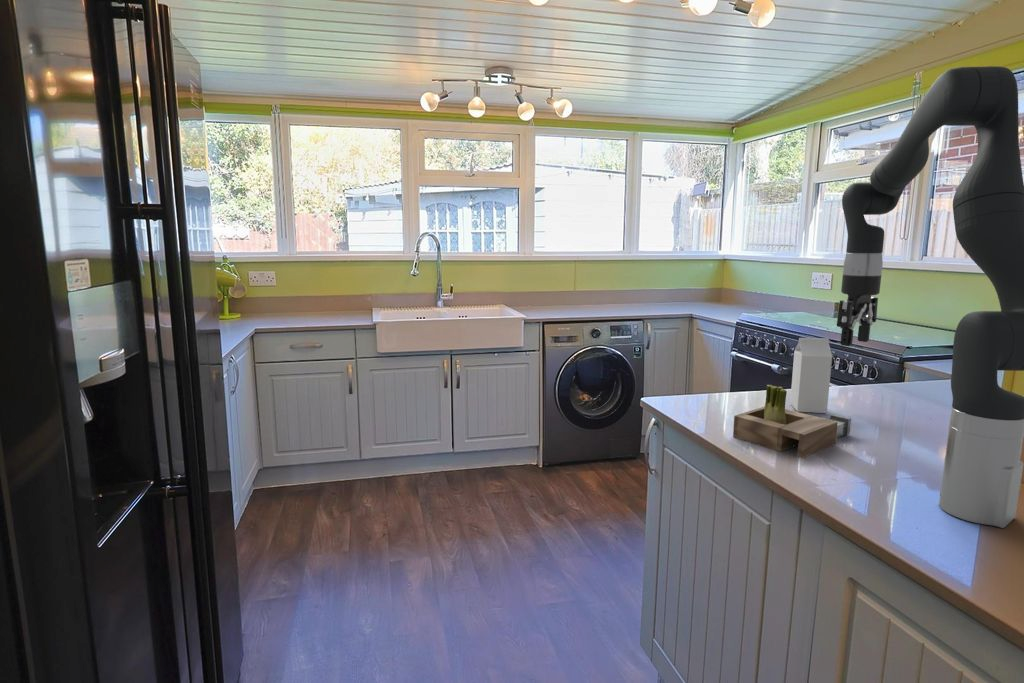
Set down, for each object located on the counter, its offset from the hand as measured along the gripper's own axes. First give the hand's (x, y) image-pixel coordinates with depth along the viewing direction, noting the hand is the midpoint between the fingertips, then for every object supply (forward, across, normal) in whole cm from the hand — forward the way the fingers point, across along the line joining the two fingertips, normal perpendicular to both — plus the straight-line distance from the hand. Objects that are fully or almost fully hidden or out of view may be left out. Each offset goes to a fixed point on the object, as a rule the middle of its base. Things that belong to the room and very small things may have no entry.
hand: (854, 343), depth 132 cm
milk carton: (+21, +8, +13) cm, 26 cm away
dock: (+20, -20, +4) cm, 29 cm away
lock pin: (+20, -12, -1) cm, 24 cm away
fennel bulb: (+21, -20, +7) cm, 29 cm away
